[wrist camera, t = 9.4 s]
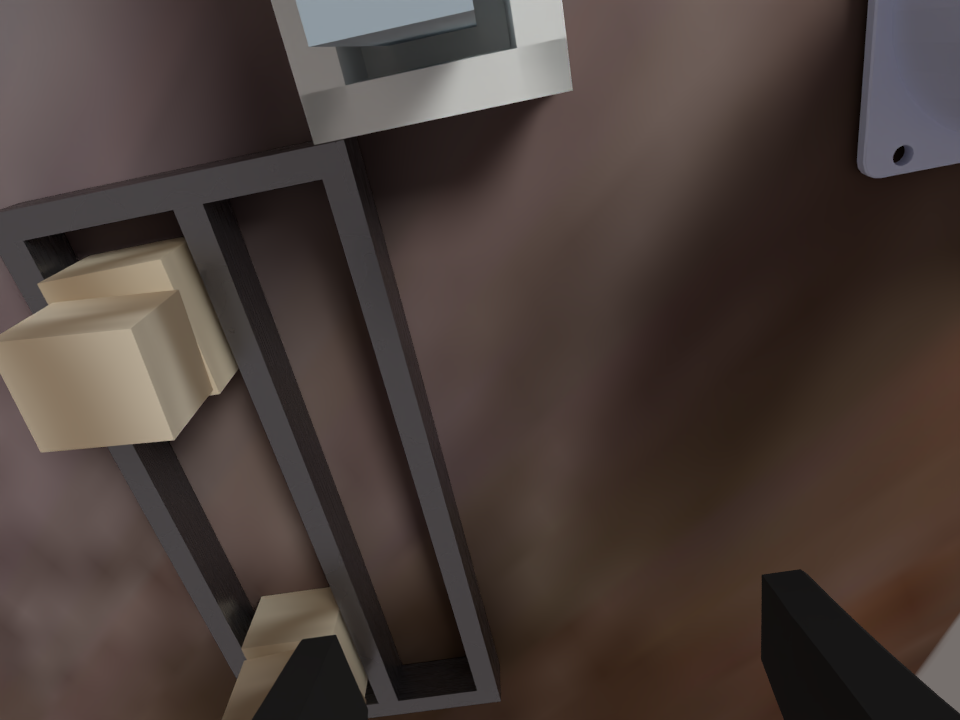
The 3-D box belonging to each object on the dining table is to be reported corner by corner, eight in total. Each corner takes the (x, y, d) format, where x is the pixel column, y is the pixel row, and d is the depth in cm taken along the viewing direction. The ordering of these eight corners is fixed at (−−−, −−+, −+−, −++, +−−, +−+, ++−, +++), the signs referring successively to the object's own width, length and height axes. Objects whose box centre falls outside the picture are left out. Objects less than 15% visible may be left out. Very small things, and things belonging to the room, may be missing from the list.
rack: (355, 131, 17) (343, 140, 15) (499, 665, 26) (500, 701, 25) (19, 202, 18) (-22, 217, 16) (277, 695, 27) (265, 731, 26)
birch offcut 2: (330, 641, 22) (314, 707, 20) (366, 700, 24) (354, 768, 22) (244, 660, 23) (218, 727, 20) (284, 717, 24) (264, 786, 22)
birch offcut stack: (204, 232, 18) (113, 293, 14) (253, 354, 20) (187, 443, 15) (86, 255, 18) (-39, 323, 14) (145, 373, 20) (50, 467, 16)
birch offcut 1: (345, 582, 24) (332, 636, 22) (372, 651, 26) (362, 708, 24) (262, 594, 25) (240, 648, 22) (294, 662, 26) (277, 718, 24)
